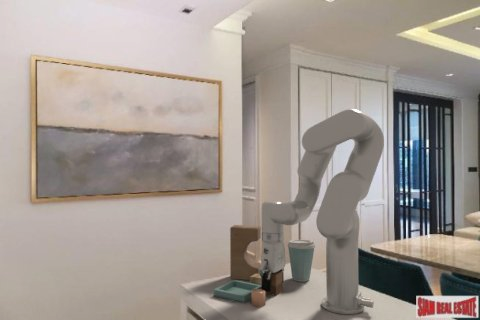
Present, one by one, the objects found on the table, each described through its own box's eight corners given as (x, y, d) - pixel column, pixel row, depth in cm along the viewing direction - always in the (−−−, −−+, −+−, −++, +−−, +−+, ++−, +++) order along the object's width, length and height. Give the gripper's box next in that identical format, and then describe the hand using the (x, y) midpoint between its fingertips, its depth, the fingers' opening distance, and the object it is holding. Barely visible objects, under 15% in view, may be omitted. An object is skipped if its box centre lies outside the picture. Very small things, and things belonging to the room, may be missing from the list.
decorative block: (261, 277, 136) (260, 226, 137) (257, 281, 131) (257, 228, 131) (234, 274, 140) (234, 224, 140) (229, 278, 134) (229, 227, 135)
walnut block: (282, 291, 121) (282, 271, 121) (276, 295, 116) (276, 274, 117) (269, 288, 123) (269, 268, 124) (263, 292, 119) (263, 272, 119)
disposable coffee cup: (281, 278, 134) (281, 239, 135) (300, 273, 141) (300, 236, 141) (302, 285, 126) (301, 244, 126) (321, 279, 133) (321, 240, 133)
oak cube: (265, 286, 126) (265, 275, 126) (260, 289, 123) (260, 278, 123) (256, 284, 128) (256, 273, 128) (250, 287, 125) (250, 276, 125)
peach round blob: (267, 303, 110) (267, 290, 110) (261, 308, 106) (261, 295, 106) (255, 300, 112) (255, 288, 112) (248, 305, 109) (248, 292, 109)
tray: (262, 292, 120) (262, 285, 120) (244, 303, 110) (244, 296, 110) (233, 285, 126) (233, 279, 126) (213, 296, 116) (213, 289, 116)
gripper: (270, 242, 111) (271, 296, 111) (292, 233, 126) (293, 281, 125) (250, 240, 115) (250, 292, 115) (274, 232, 130) (274, 278, 129)
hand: (272, 286), depth 120 cm, fingers open, 9 cm apart
